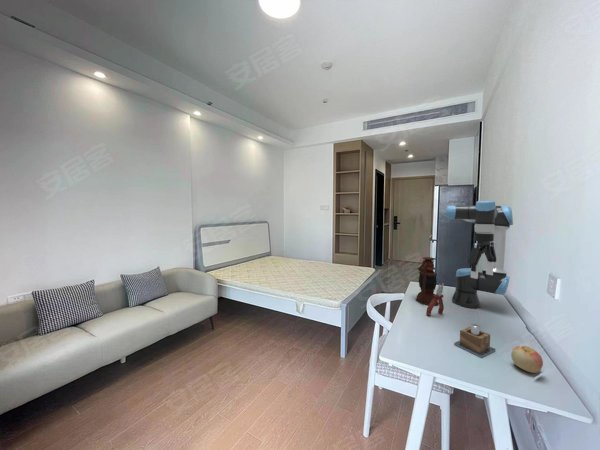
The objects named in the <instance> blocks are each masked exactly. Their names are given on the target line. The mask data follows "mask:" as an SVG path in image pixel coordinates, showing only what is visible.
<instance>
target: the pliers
mask: <svg viewBox="0 0 600 450" xmlns="http://www.w3.org/2000/svg"><path fill="white" fill-rule="evenodd" d="M444 285H445V283H444V282H442V283H439V284H438V286H437V288H436V289H437V290H436V293H434V294H435V295H433V296H434V298H433V300H432V301H431V303H430V304H429V306H427V309H426V316H428V317H430V316H431V315H432V311H433V308H434V307H435V306H434V305H435V304H436V302H437V301H438V303H439V305H438V310H437V313H438V314H439V315H442V314H443V313H444V309H445V306H444V301H443V298H444V294H443V292H444Z"/></svg>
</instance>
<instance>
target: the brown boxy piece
mask: <svg viewBox="0 0 600 450" xmlns="http://www.w3.org/2000/svg"><path fill="white" fill-rule="evenodd" d="M459 341H460V344H462V345H464V346H466V347H468V348H470V349H472V350H475V351H477V352H479V353H480V352H482V351H484V350H486V349H489V348H490V347H491V346H490V345H491V334H490V333H487V332H485V331H482V330H479V336H476V335H473V334H471V326H468V327H466V328H463V329H461V330H459Z"/></svg>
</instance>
